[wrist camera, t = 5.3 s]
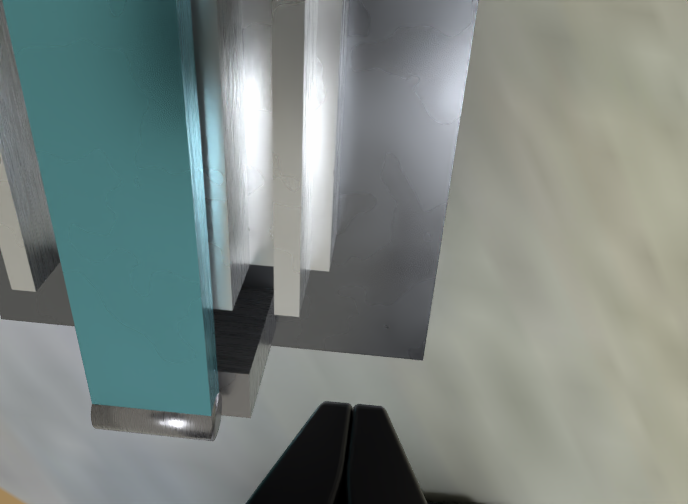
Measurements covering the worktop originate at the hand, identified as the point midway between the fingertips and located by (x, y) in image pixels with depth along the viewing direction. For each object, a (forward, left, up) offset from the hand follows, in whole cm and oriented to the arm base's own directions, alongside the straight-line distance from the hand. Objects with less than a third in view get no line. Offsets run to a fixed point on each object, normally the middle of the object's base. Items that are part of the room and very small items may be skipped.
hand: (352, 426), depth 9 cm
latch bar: (+1, +5, -6) cm, 8 cm away
